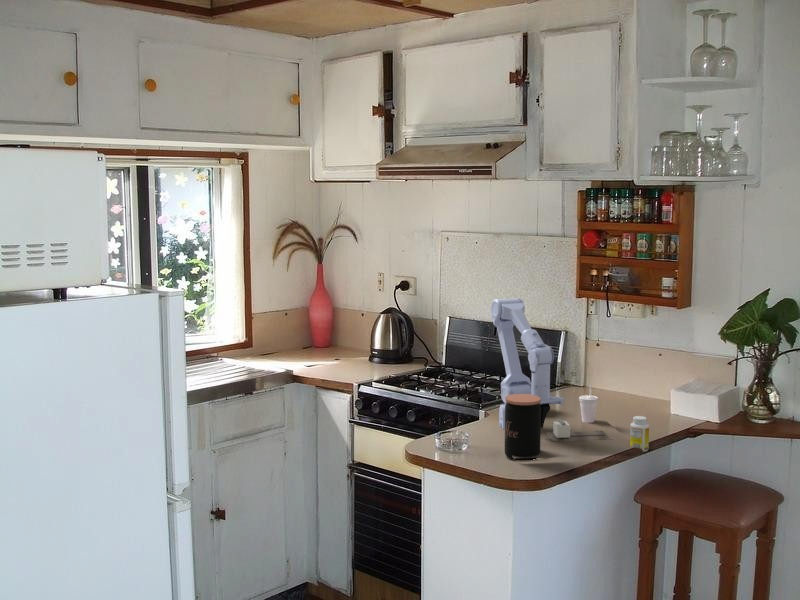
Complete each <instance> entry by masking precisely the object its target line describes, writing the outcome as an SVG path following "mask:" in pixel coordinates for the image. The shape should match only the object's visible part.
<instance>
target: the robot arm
mask: <svg viewBox="0 0 800 600" xmlns="http://www.w3.org/2000/svg"><path fill="white" fill-rule="evenodd" d="M490 305H491V307H490V314H491V319H492V322H493V326H495V327H496V329H497V336H498V340H499V345H500V350H501V355H502V358H503V363H504V364H503V365H504V368H505V375H506V376H505V378H504V379H503V380H502V381H501V383H500V397H501V400H502V402H503V403H504V404H500V405H499V413H498V418H499V419H498V423H499V424H498V425H499V428H501V430H505V405H506V403H507V402H506V401H505V397H506V396H508V395H513V394H530V395H535V396H539V397H540V398H541V402H540V403H539V404H540V406H541V429H543V428H544V424H545V421H546V418H547V416H548V414H549V412H550V411H551V405H561V406H562V405H565V403H564V402H565V398H564V397H563V396H559V397H558V396H551V365H553V362H554V359H555V354H554V350H553V348H552V346H550V345H548V344H545V343H544V340H543V339H542V338H541V336H540V335H539V333H538V331H537V330H536V329H534V328H532V327H531V325H530V323H529V321H528V318H527V317H526V315H525V312H526V311H525V310H526V307H525V304H524V301H523V300H522V298H521V297H515V298H502V299H501V298H498V299H497V298H494V299H493V300H492V302H491V304H490ZM514 326H515V327H516V329H517V330H518V331H519V332H520V334H521V336H520V341H521V342H522V344H523V346H524V348H525V350H526V351H527V353H528V354H527V359H528V363H529V370H530V371H531V379H530V377H528V376H527V375H525V373H523V371H522V366H521V362H520V358H519V357H520V356H519V352H518V351H519V350H518V348H517V343H516V338H515V334H514Z"/></svg>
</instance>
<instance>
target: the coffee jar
mask: <svg viewBox="0 0 800 600" xmlns="http://www.w3.org/2000/svg"><path fill="white" fill-rule="evenodd" d="M505 401H506V402H507V403H506V405H505V429H504V454H505V456H506V457H507V458H508V457H509V458H511V459H510V460H512V459H515V460H514V461H516V460H532V461H534V460H533V459H535V460H537V459H538V458H539V457H536V456H538V455H541V430H542V428H541V406H540V404H539V403H540V402H541V398H540V397H539V396H535V395H530V394H513V395H508V396H506V397H505ZM509 458H508V459H509ZM536 458H537V459H536Z"/></svg>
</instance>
